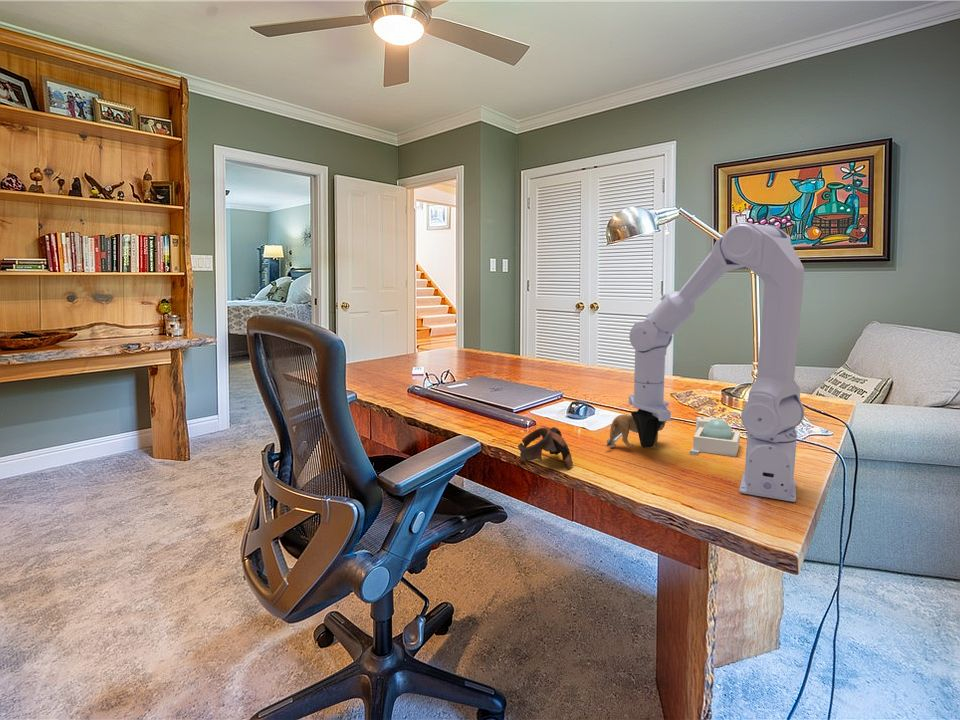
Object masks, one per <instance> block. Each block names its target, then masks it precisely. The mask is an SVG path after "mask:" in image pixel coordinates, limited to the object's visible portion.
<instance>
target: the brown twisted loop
mask: <svg viewBox="0 0 960 720" xmlns="http://www.w3.org/2000/svg"><path fill="white" fill-rule="evenodd" d="M562 436H563V435H562V432H561V430H560V429H559V428H557V427H556V426H555V427H551V428H550V427H547V426H544V427H539V428H537V429H535V430H533V431H531V432H530V433H528V434H527V435H525V436H524V437H523V438H522V439H521V442H520V443H519V444H518V446H517V448H518V450H519V451H520V453H519V455H520V456H519V457H520V458H519V459H520V461H522V462H523V463H527V462H528V461H533V460H538V461H541V462H542V461H543V458H542V456H543V455H542V452H543V451H545V452H549V454H550V455H555V456H557V455H559V454H561V458H562V461H564V462H565V464H566V467H567V470H568V471H569V470H570V471H571V469H572V468H573V466H574V465H573V464H574V462H573V460H572V459H573V458H572V454H571V451H570V448H569V445H568V444H567V441H566V440H565V439H564V438H563V437H562ZM540 437H542V439H540V440H539V441H538V442H536V443H534V444H532V445H530V444H531V443H532V442H533V441H535V440H536V439H539V438H540Z"/></svg>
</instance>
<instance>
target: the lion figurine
mask: <svg viewBox="0 0 960 720" xmlns="http://www.w3.org/2000/svg"><path fill="white" fill-rule="evenodd" d="M666 423H667V421H663V423H662V424H661V426H660V428H659V430H658V433H657V436H656V439H655V442H654V445H653V446H661V443H660V442H659V441H658V439H659V431H660V432H661V431H662V430H663V429H664V428H665V426H666ZM630 431H631V432H633V433H636V434H638V430H637V426H636V423H635V421H634V419H633V417H632V415H629V414H619V415H617V416H615V418H614V419H613V420H612V422H611V424H610V431H609V438H610V440H609V442H607V443H606V447H610V448H615V447H617V444H616V443H615V442H614V443H613V441H614V439H615V438H616V437H617V436H618V435H620V434H621V433H622V436H621V437H622V438H621V441H622V443H624V445H625V446H626V447H627V448H634V444H633V443H630V442H629V439H628V436H629V434H630Z"/></svg>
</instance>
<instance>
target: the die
mask: <svg viewBox="0 0 960 720" xmlns="http://www.w3.org/2000/svg"><path fill="white" fill-rule="evenodd" d="M713 419H717V418H716V417H709V416H696V417H695V420H696V421H695V433H696V432H697V430H698V429H699V427H704V424H707V423H708V422H709V421H711V420H713Z"/></svg>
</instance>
